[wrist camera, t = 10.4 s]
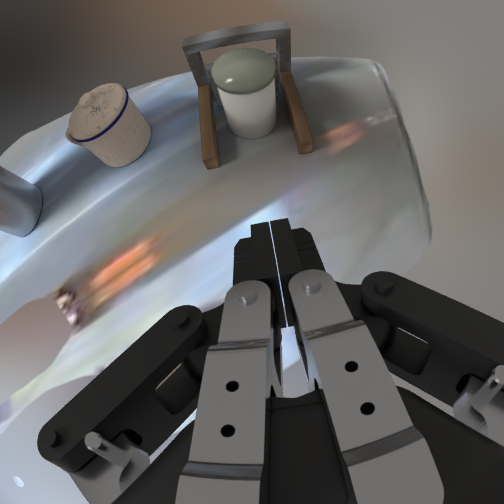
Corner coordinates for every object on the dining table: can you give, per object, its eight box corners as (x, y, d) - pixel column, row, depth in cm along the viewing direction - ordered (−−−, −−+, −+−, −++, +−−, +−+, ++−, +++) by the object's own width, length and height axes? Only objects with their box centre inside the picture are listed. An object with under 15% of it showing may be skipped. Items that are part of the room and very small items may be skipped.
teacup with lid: (156, 112, 37) (124, 61, 26) (149, 163, 36) (107, 116, 24) (92, 130, 38) (53, 91, 27) (82, 178, 37) (33, 144, 25)
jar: (232, 145, 35) (216, 93, 25) (223, 108, 36) (207, 56, 26) (283, 133, 34) (282, 79, 24) (270, 97, 36) (265, 43, 26)
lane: (207, 169, 34) (181, 121, 24) (201, 88, 37) (182, 38, 27) (311, 152, 33) (319, 98, 23) (287, 74, 36) (286, 20, 26)
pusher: (217, 106, 36) (205, 69, 28) (215, 79, 37) (203, 44, 29) (279, 95, 35) (277, 57, 28) (272, 70, 36) (269, 33, 29)
